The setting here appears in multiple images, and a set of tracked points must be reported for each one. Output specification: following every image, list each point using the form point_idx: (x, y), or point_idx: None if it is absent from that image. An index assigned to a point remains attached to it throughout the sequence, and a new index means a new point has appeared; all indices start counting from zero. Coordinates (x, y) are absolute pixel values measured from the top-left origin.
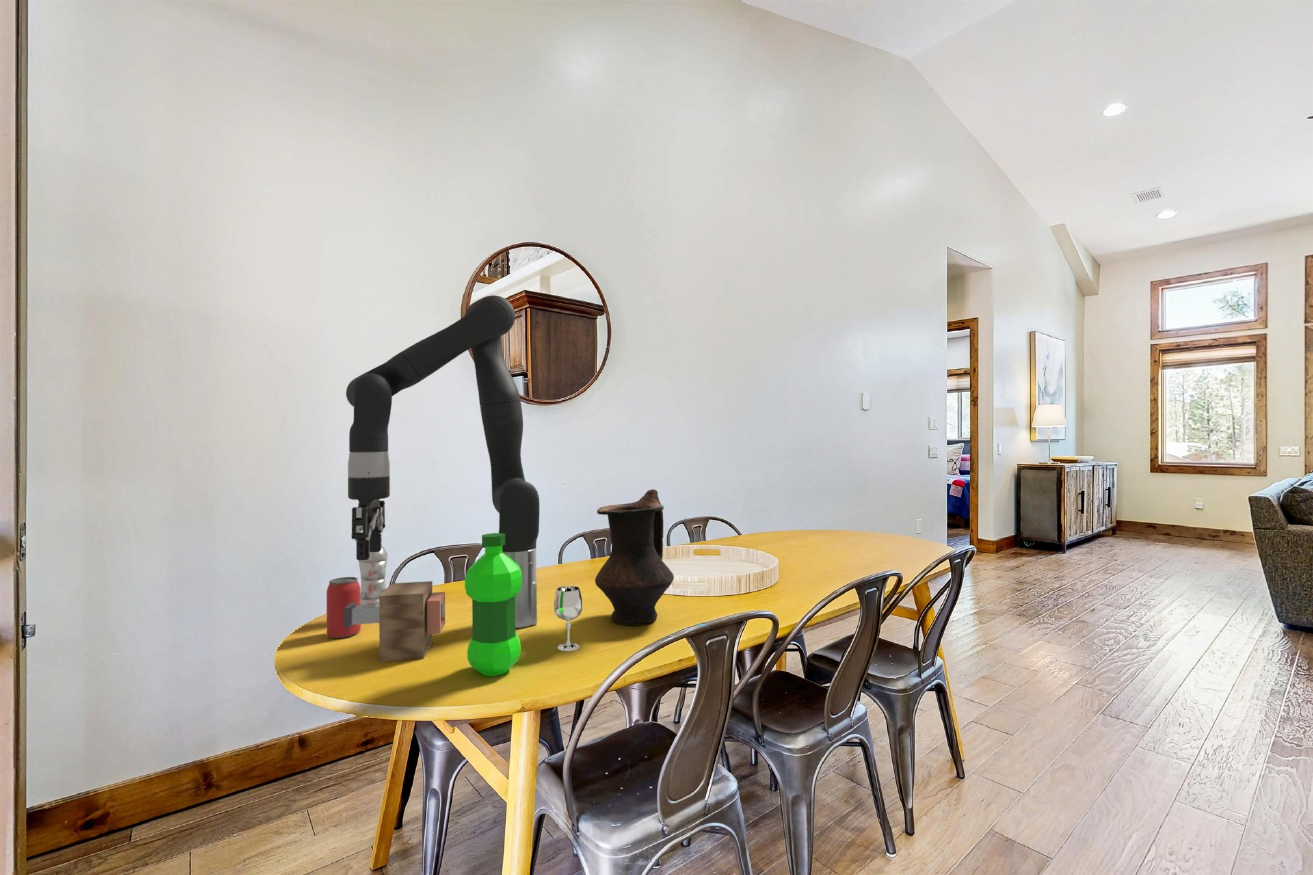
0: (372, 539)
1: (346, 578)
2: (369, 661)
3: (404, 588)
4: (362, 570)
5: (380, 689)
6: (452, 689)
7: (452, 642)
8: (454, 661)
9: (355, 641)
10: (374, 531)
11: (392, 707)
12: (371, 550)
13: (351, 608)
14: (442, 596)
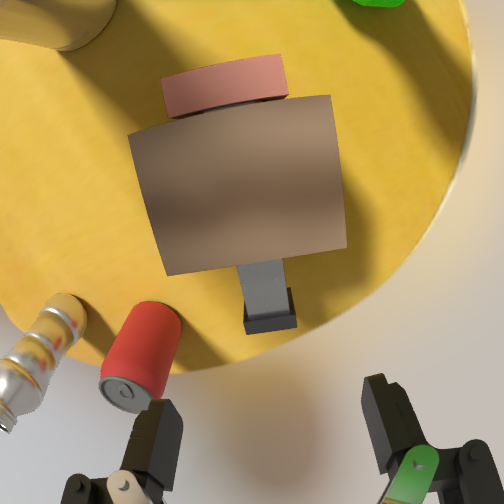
0: (168, 464)
1: (106, 395)
2: None
3: (245, 197)
4: (48, 381)
5: (426, 146)
6: (428, 38)
7: None
8: (312, 44)
9: (190, 287)
10: (155, 494)
11: (473, 114)
12: (180, 423)
13: (286, 313)
14: (218, 64)
